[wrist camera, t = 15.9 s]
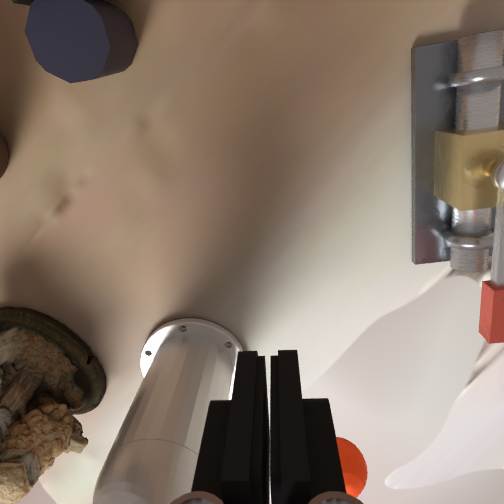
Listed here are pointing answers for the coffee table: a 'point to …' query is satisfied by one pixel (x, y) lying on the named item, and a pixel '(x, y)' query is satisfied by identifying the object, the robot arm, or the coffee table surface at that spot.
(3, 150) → the plant pot
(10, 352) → the owl figurine
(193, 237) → the coffee table surface
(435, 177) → the valve body
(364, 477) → the clementine
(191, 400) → the robot arm
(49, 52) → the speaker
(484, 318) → the valve lever
